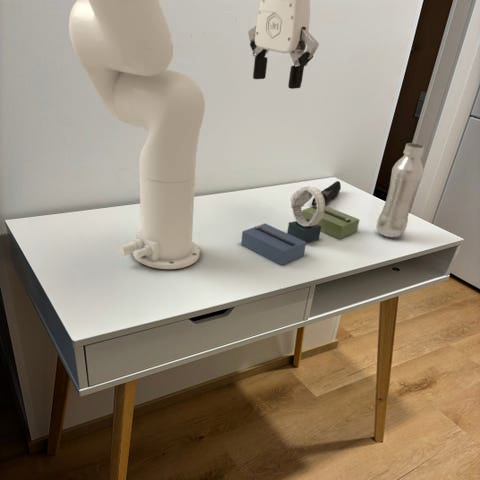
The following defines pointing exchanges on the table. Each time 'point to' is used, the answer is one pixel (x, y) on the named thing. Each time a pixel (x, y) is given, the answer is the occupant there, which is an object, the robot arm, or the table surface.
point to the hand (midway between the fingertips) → (276, 83)
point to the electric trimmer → (329, 192)
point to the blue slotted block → (273, 243)
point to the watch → (303, 227)
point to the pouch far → (334, 222)
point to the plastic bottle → (401, 192)
